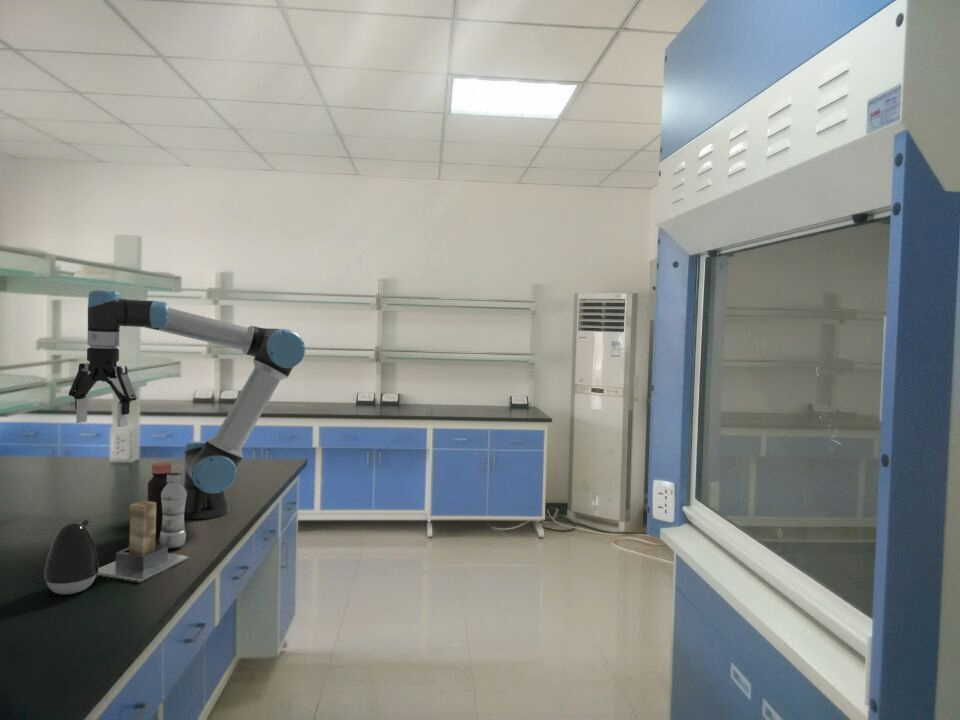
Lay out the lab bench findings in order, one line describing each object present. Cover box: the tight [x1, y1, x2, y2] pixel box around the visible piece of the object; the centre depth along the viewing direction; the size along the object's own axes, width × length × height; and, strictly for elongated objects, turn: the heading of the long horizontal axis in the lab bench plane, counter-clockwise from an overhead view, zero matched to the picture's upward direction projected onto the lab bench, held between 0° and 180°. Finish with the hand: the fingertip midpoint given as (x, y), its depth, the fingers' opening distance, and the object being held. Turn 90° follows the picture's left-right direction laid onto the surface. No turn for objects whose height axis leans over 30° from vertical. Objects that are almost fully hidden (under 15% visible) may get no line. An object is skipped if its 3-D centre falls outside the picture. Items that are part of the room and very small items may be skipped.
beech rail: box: [128, 500, 156, 555], centre depth 153 cm, size 4×4×15 cm
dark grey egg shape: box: [43, 519, 100, 596], centre depth 139 cm, size 10×10×15 cm
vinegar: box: [146, 462, 172, 537], centre depth 177 cm, size 7×7×20 cm
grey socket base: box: [96, 543, 190, 581], centre depth 153 cm, size 16×14×4 cm
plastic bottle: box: [159, 472, 187, 550], centre depth 167 cm, size 6×7×20 cm
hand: (101, 424), depth 170 cm, fingers open, 13 cm apart
